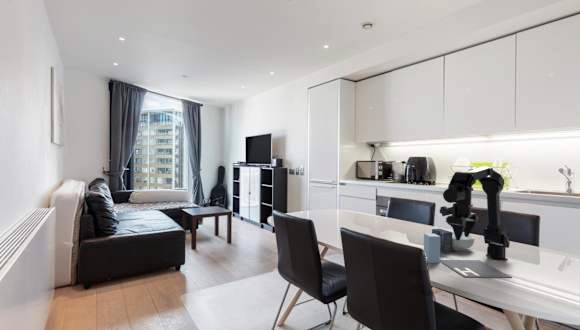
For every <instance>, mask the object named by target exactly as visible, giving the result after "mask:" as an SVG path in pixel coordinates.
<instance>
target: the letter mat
mask: <svg viewBox="0 0 580 330" xmlns="http://www.w3.org/2000/svg"><path fill="white" fill-rule="evenodd" d="M440 263H441V264H442V265H444V266H446V267H448V268H449V269H451V270H452V271H454V272H455V273H457V274H458V275H460V276H462V277H463V278H466V279H467V278H470V279H471V278H477V279H478V278H481V279H482V278H483V279H484V278H487V279H489V278H490V279H491V278H492V279H494V278H495V279H511V278H512V275H509V274H507V273H505V272H503V271H501V270H500V269H497V268H495V267H493V266H491V265H489V264H488V263H485V262H483V261H482V260H479V259H440Z"/></svg>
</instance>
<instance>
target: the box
mask: <svg viewBox="0 0 580 330" xmlns="http://www.w3.org/2000/svg"><path fill="white" fill-rule="evenodd" d="M452 232H453V231H449V230H445V229H442V228H433V229H431V234H436V235H438V236H440V254H444V255H445V254H451V253H452V252H453V249H452Z"/></svg>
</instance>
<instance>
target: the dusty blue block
mask: <svg viewBox="0 0 580 330" xmlns="http://www.w3.org/2000/svg"><path fill="white" fill-rule="evenodd" d="M424 251H425V253H426V257H427V261H426V262H427V263H428V264H440V263H441V262H440V260H441V252H440V236H438V235H436V234H432V233H424V234H423V252H424Z"/></svg>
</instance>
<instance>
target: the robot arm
mask: <svg viewBox="0 0 580 330" xmlns="http://www.w3.org/2000/svg"><path fill="white" fill-rule="evenodd" d="M477 181H479V184H481V189H482V191H483V192H484V194H485V195H486V204H487V205H486V206H487V222H488V223H487V225H486V227H485V228H484V229H483V240H484V244H486V245H487V248H486V254H485V257H488V258H491V259H492V260H495V261H501V260H502V261H507V260H509V258H507V257H506V253H507V249H508V248H510V246H511V245H510V243H511V242H510V239H509V237H508V236H507V234H506V229H505V227H503V225H502V224H501V221H502V220H501V204H500V202H501V200H500V194H501V192H502V191H503V190H504V185H505V179H504V178H503V176H502V174H500V173H499V172H497V171H495V170H494V168H493V167H491V166H480V167H478V168H475V169H472V170H469V171H458V170H457V171H454V173H453V175H452V177H451V179H450V182H449V184H448V186H447V187H448V188H446V189H445V190H444V192H443V193H442V197H443V199H444V201H445V202H447V203H450V204H452V203H453V204H452V206H449V207H447V206H446V205H444V206H440V209H439V213H440V214H441V216H442V217H445V223H447V224H448V225H449V226H450V227H452V230H453V231H452V232H454V234H455V237H456V240H460V238H461V236H462V233H463V234H464V235H465V237H468V236H469V235H471V234H470V233H471V232H472V231H473V229H474V227H475V225H476V224H477V222H478V221H479V214H477V213H476V212H472V208H473V207H474V204H473V203H472V191H474V188H473V186H474V185H475V184H476V183H477Z"/></svg>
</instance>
